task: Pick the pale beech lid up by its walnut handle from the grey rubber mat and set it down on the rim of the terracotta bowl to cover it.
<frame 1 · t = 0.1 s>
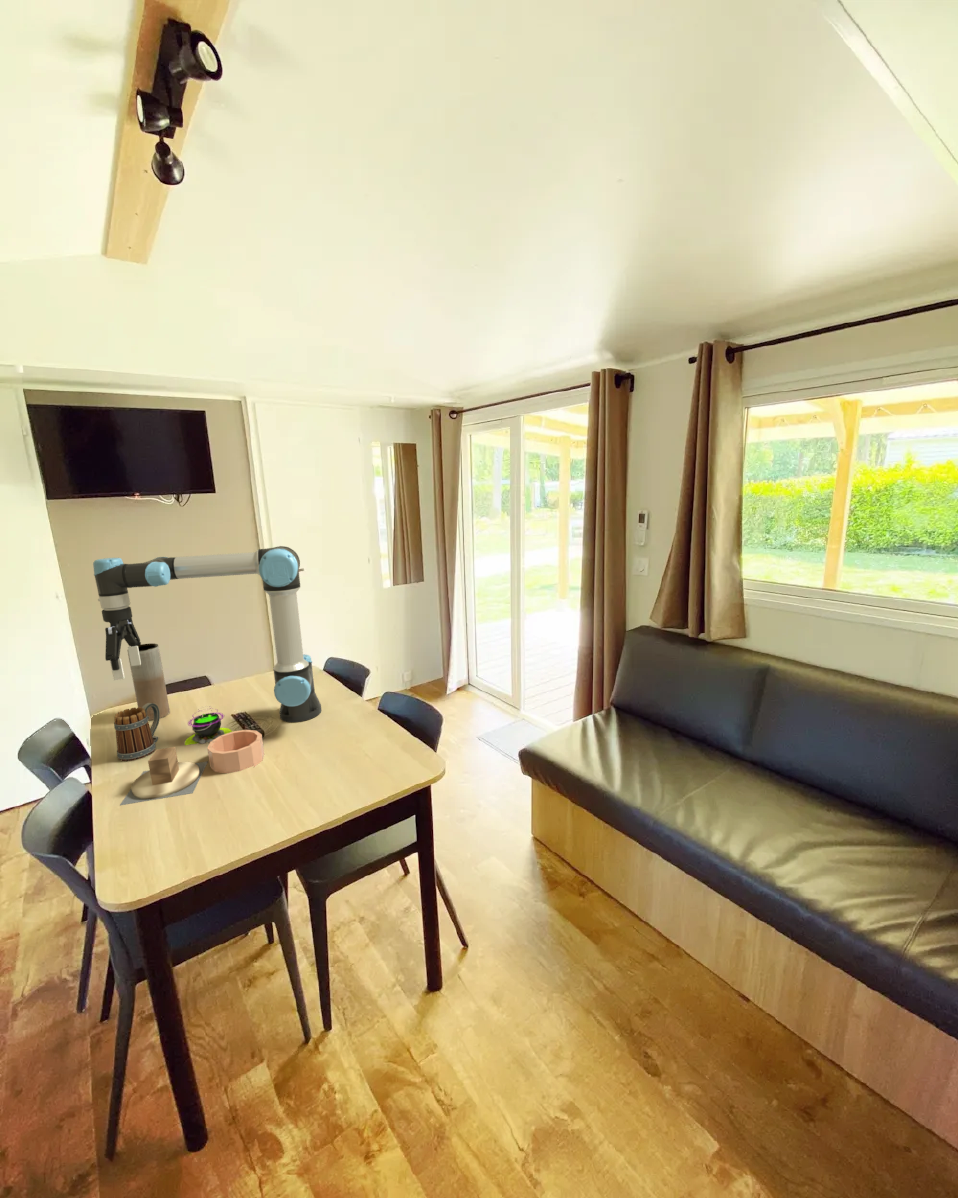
hand: (128, 672, 162), 28 cm above the table, fingers open, 13 cm apart
mat: (167, 783, 148), on the table
bowl: (238, 761, 159), on the table
mug: (144, 751, 168), on the table
lid: (167, 781, 148), point 1 cm above the table, touching mat
toy cauldron: (209, 738, 176), on the table
vase: (155, 715, 196), on the table
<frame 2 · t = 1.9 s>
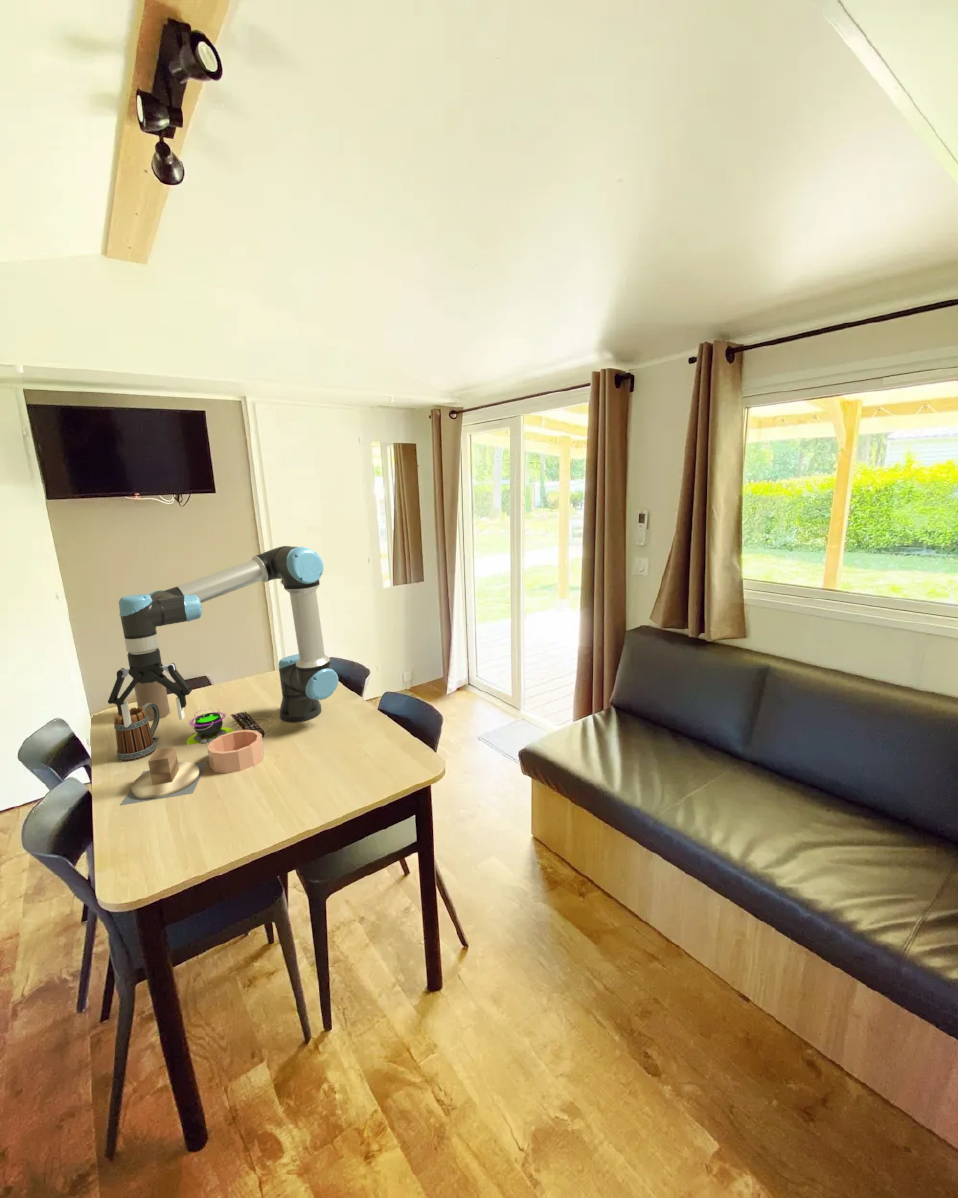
hand: (155, 721, 144), 20 cm above the table, fingers open, 13 cm apart
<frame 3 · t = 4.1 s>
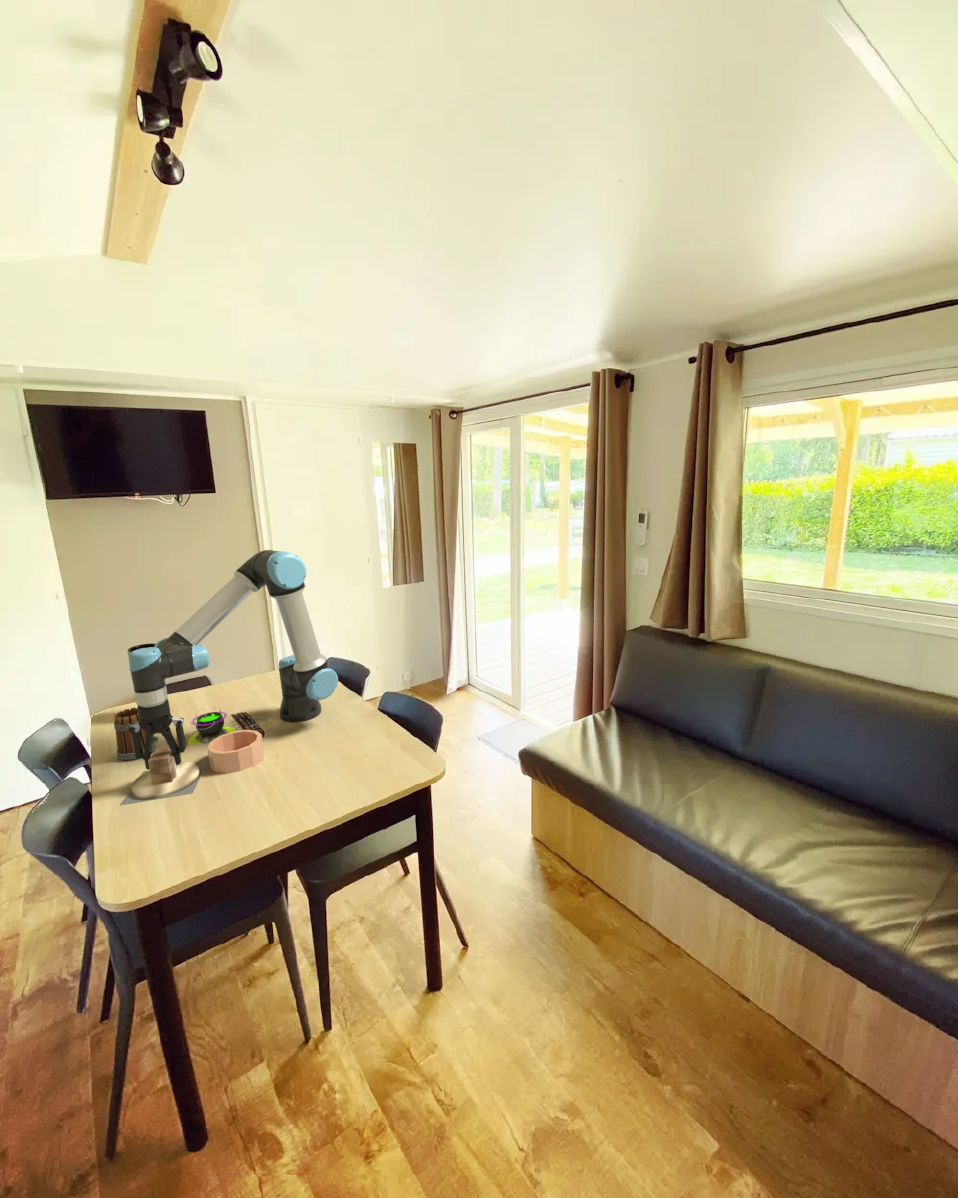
hand: (165, 776, 148), 2 cm above the table, fingers closed on lid, 5 cm apart
lid: (166, 781, 148), point 1 cm above the table, touching gripper, mat
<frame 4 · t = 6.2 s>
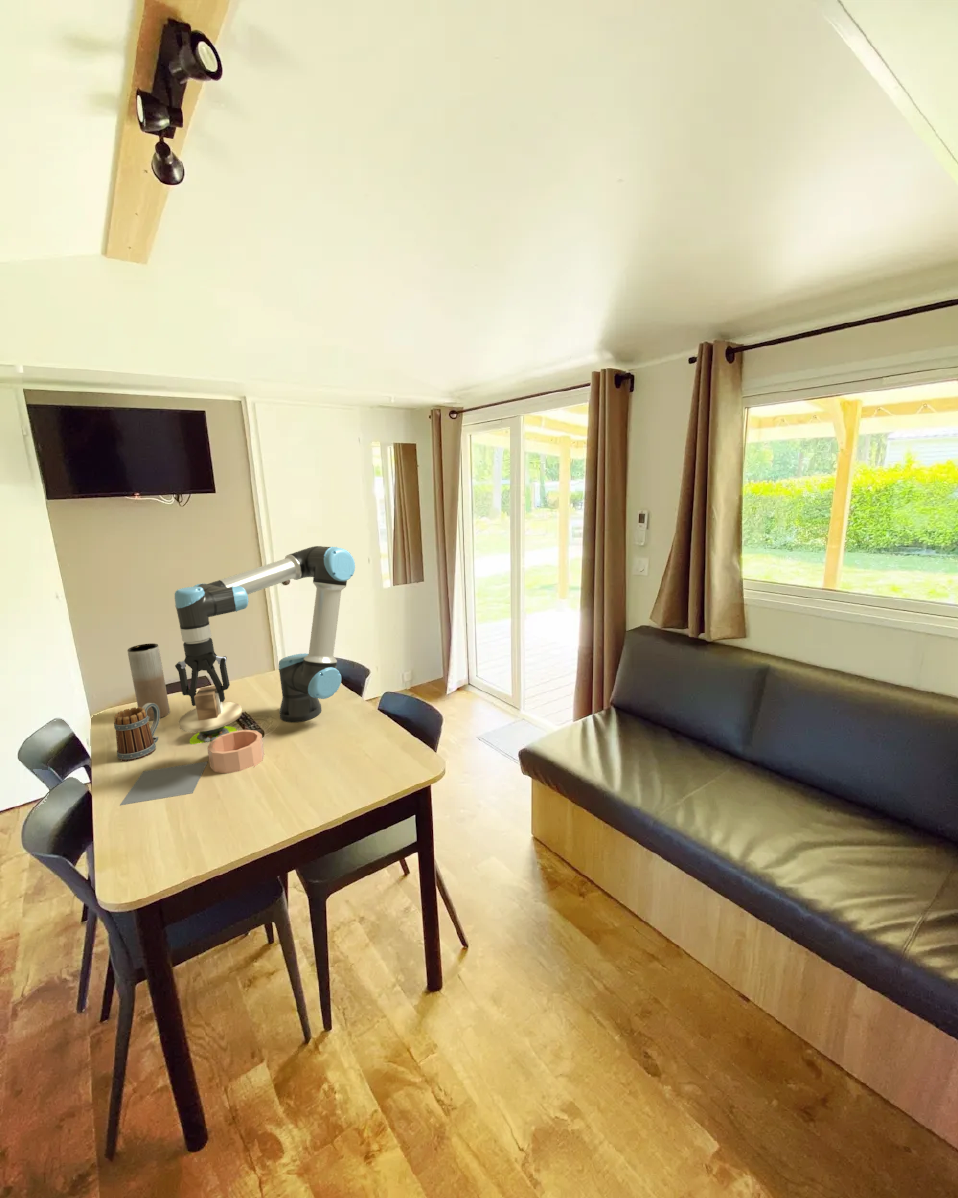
hand: (210, 713, 152), 18 cm above the table, fingers closed on lid, 5 cm apart
lid: (211, 718, 153), point 16 cm above the table, touching gripper
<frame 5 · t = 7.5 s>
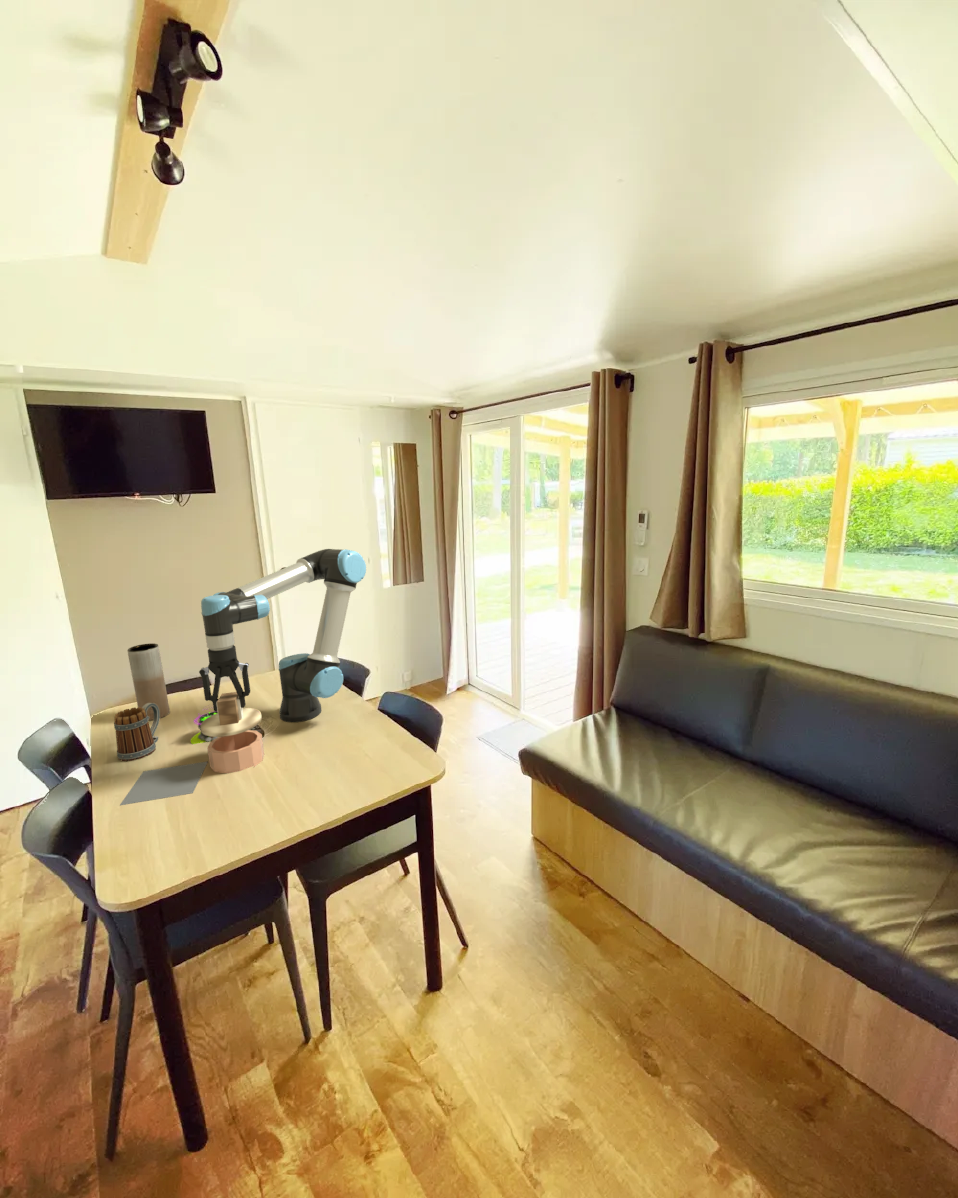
hand: (231, 718, 156), 15 cm above the table, fingers closed on lid, 5 cm apart
lid: (232, 723, 156), point 13 cm above the table, touching gripper
when the fingers open (10 cm above the table, at t = 8.6 s): lid stays where it is, resting on bowl.
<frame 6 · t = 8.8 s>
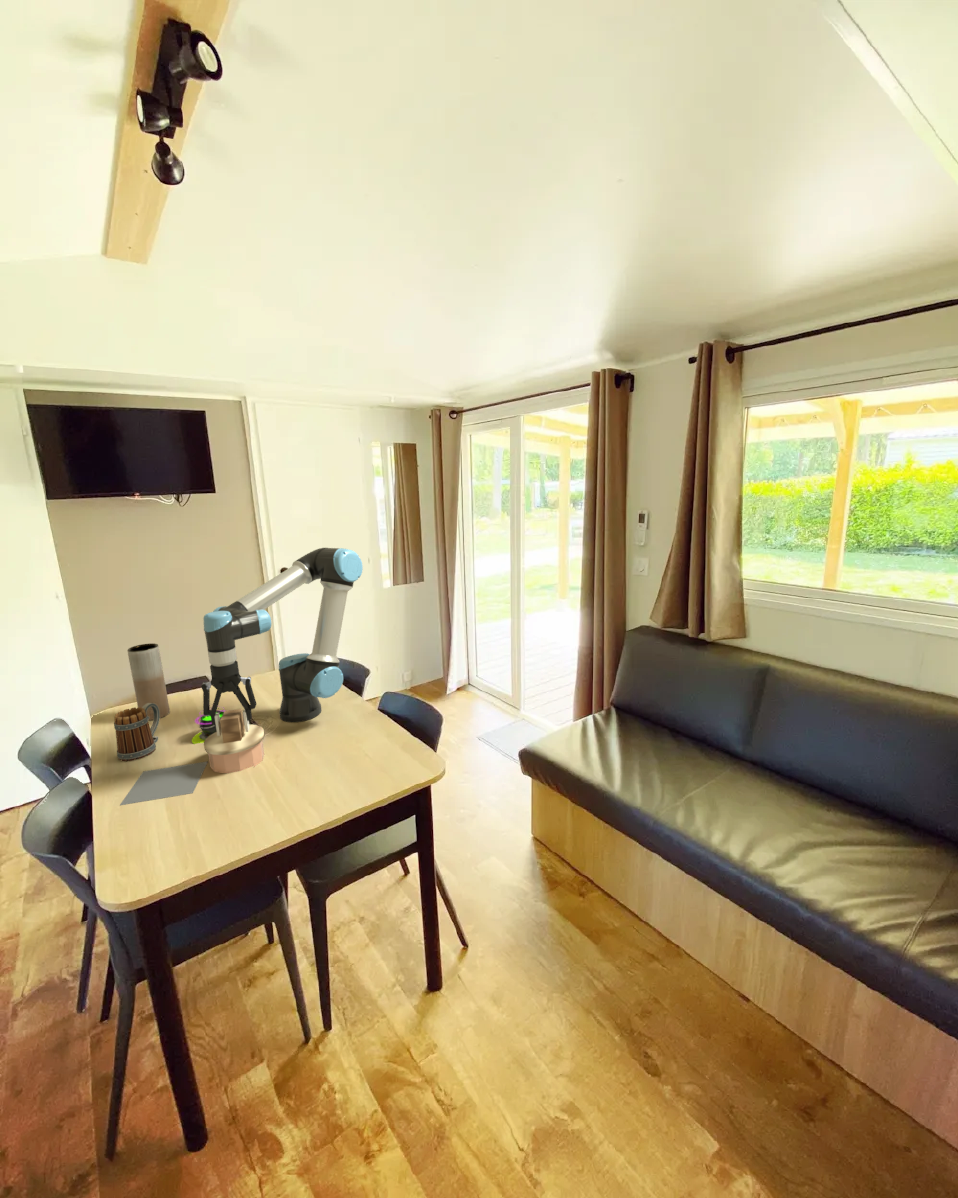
hand: (233, 732, 157), 10 cm above the table, fingers open, 7 cm apart
lid: (235, 741, 158), point 7 cm above the table, touching bowl
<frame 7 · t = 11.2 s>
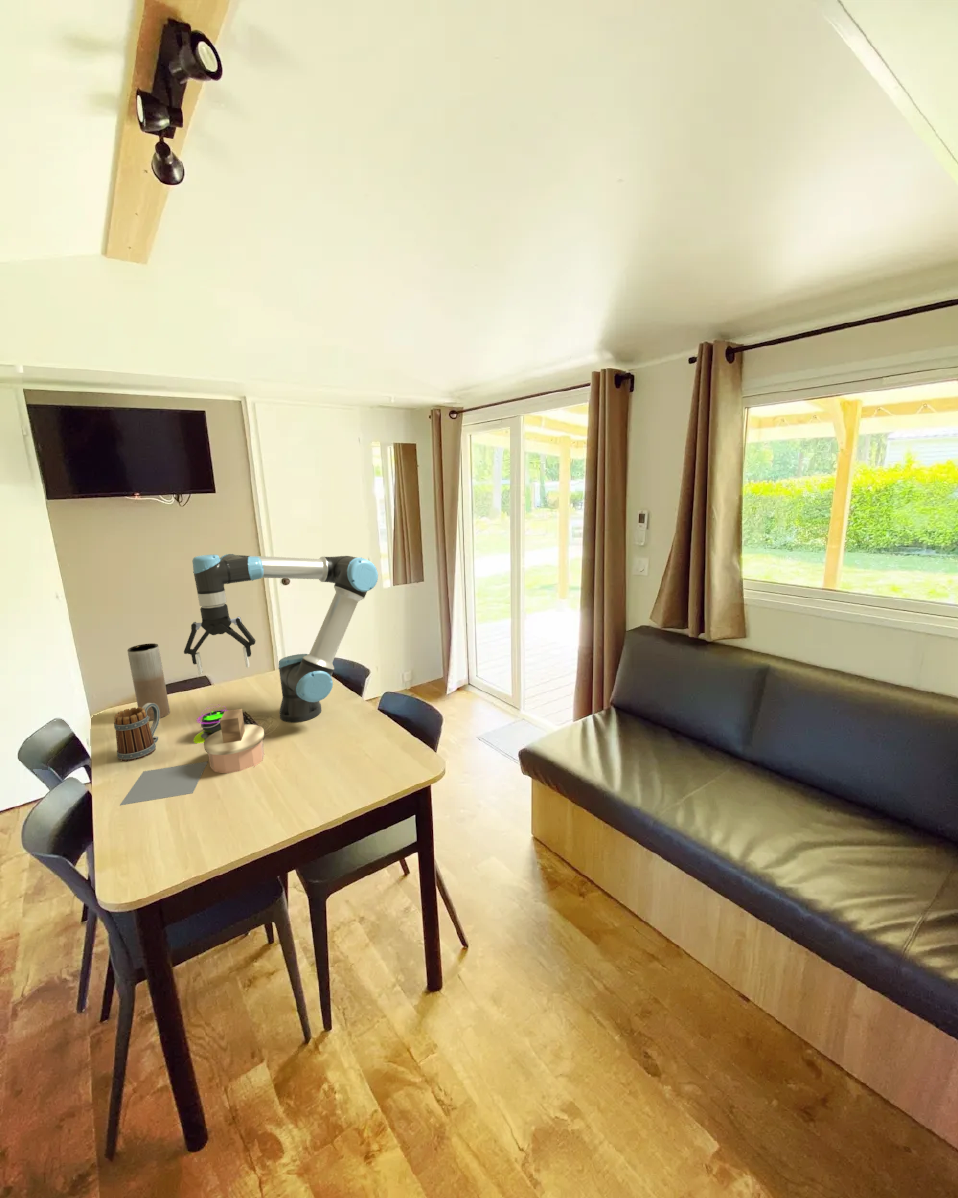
hand: (224, 669, 160), 28 cm above the table, fingers open, 13 cm apart
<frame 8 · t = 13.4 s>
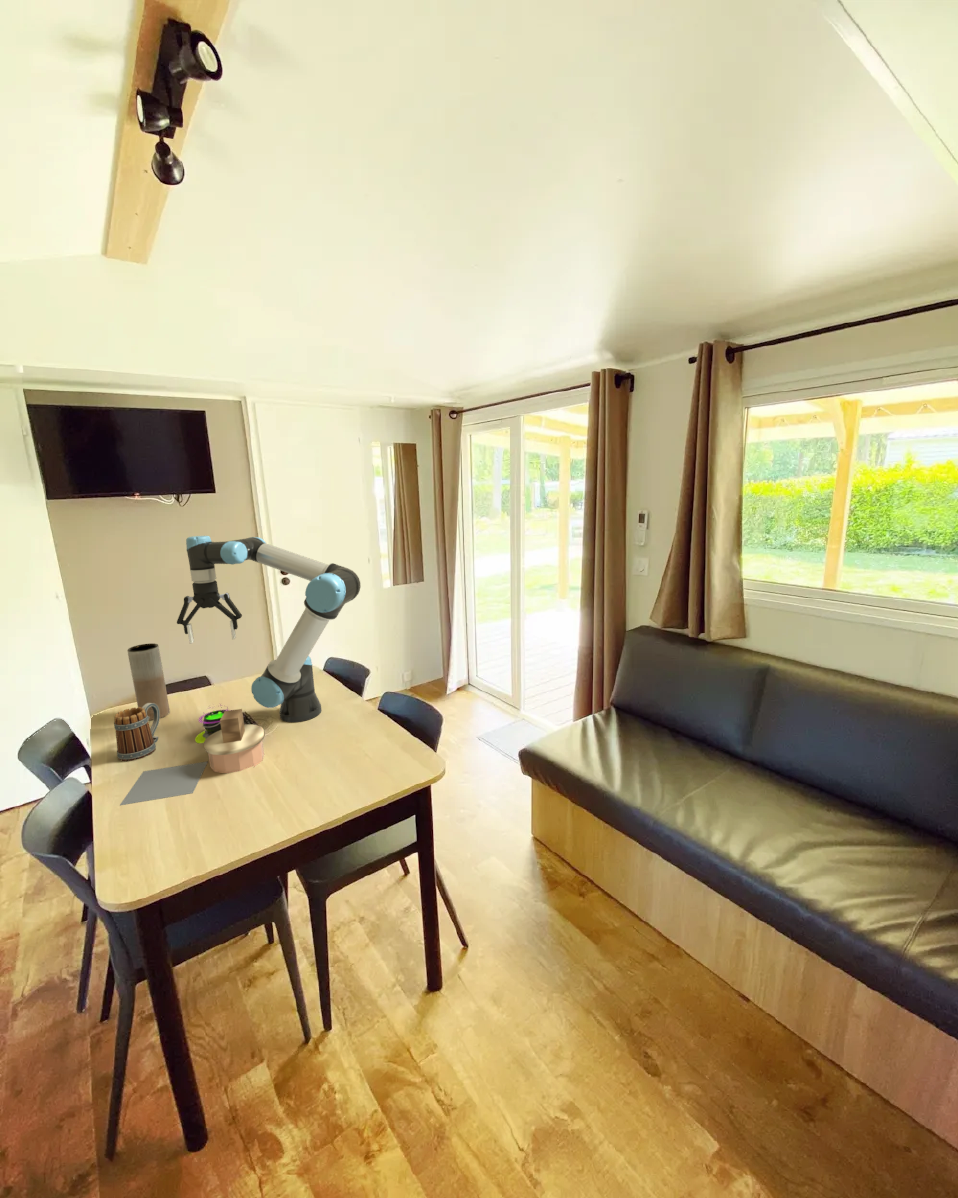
hand: (213, 640, 177), 33 cm above the table, fingers open, 13 cm apart
at the end: lid 0.0 cm from the bowl (horizontally); lid point 7.0 cm above the table; lid tilted 0° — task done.
